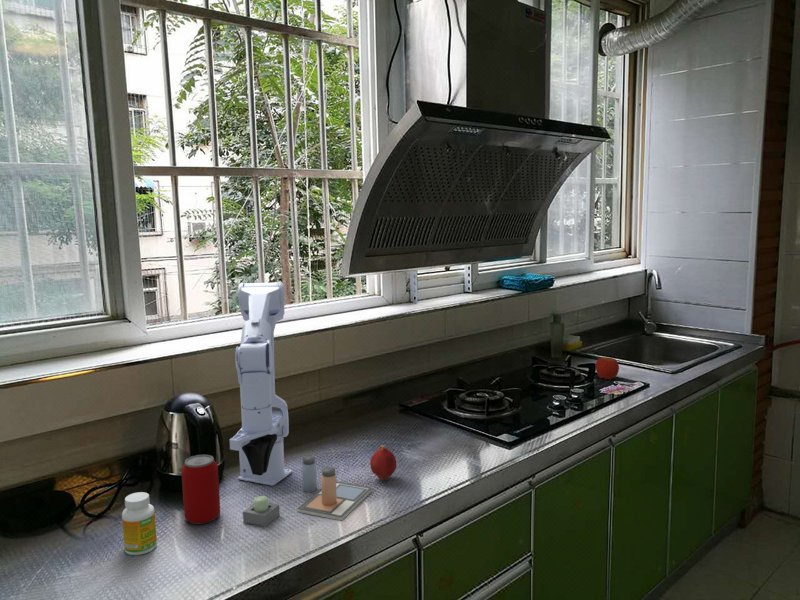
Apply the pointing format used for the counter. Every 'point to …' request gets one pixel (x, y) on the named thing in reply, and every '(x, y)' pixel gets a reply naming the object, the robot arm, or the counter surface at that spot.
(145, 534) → the supplement bottle
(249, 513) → the button housing
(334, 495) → the terracotta marker
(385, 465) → the onion
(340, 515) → the picture card
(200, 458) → the beverage can
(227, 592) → the counter surface
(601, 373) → the apple
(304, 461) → the cylinder
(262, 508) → the button
